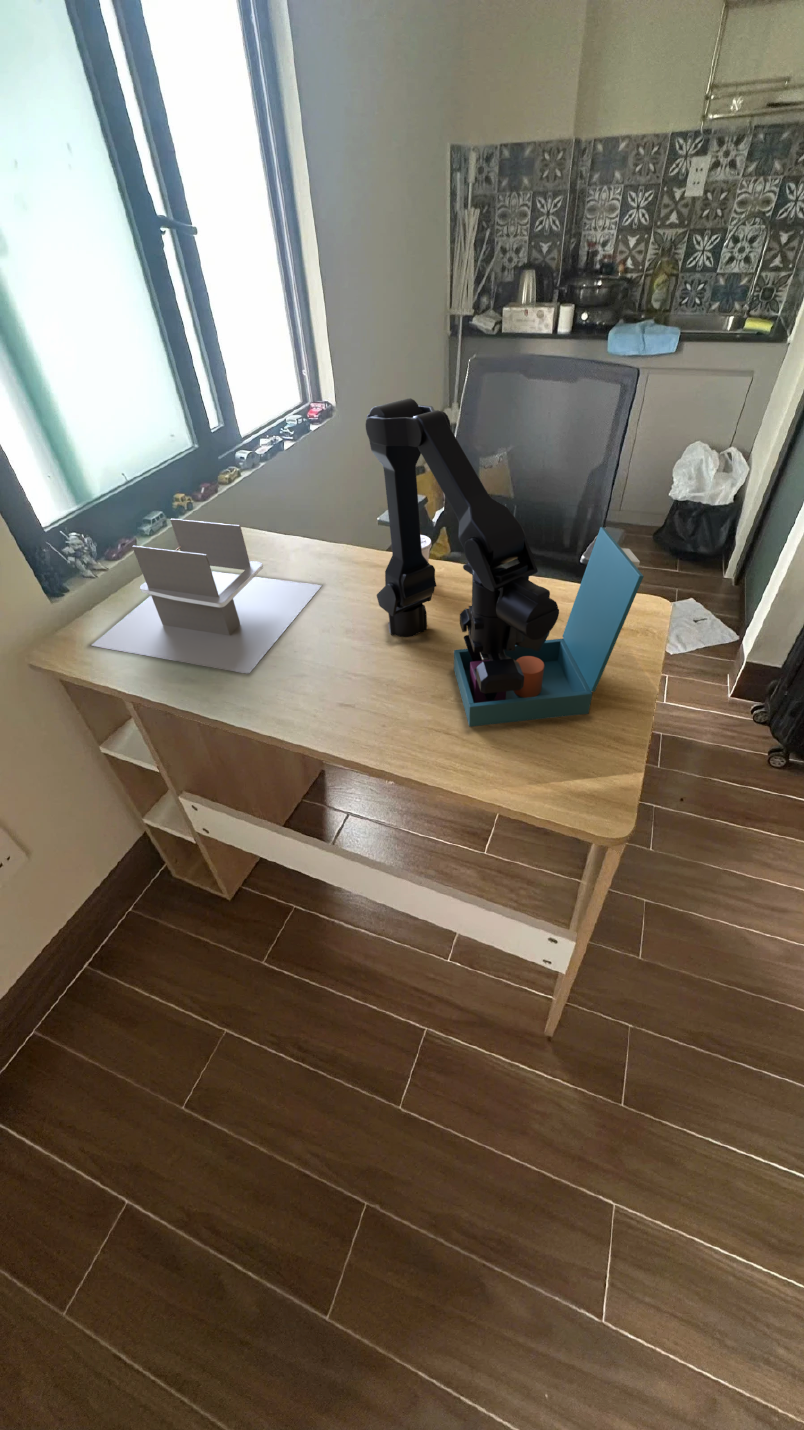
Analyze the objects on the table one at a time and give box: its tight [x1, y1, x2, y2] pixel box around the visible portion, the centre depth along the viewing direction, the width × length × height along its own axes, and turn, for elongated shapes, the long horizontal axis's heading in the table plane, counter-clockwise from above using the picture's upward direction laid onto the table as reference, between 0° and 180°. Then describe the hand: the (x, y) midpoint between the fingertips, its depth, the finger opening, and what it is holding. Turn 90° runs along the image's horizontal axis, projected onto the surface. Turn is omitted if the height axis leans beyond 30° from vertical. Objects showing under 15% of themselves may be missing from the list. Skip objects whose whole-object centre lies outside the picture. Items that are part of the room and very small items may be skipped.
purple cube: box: [470, 659, 506, 703], centre depth 95 cm, size 5×5×5 cm
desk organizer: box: [90, 518, 323, 675], centre depth 115 cm, size 31×35×17 cm
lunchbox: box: [453, 637, 593, 728], centre depth 96 cm, size 19×15×5 cm
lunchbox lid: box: [562, 526, 644, 693], centre depth 88 cm, size 19×15×3 cm
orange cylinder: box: [514, 656, 544, 698], centre depth 95 cm, size 5×5×5 cm
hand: (487, 689), depth 96 cm, fingers closed on purple cube, 4 cm apart
